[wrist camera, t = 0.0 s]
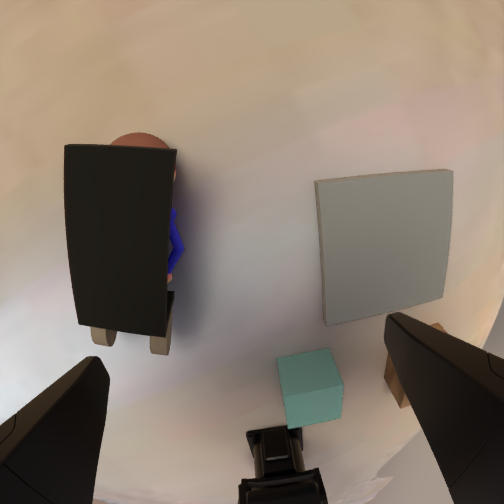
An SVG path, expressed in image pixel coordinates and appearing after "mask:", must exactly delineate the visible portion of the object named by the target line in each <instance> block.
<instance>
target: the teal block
mask: <svg viewBox="0 0 504 504" xmlns="http://www.w3.org/2000/svg"><path fill="white" fill-rule="evenodd" d="M277 364H278V371H279V378H280V386H281V393H282V398H283V404H284V409H285V415H286V420H287V426H288V429H291V428H296V427H302V426H307V425H312V424H317V423H322V422H326V421H331V420H335V419H339V418H341V411H342V400H343V387H344V384H343V381H342V379H341V376H340V374H339V371H338V369H337V366H336V364H335V361H334V359H333V356H332V354H331V351H330V349H329V348H326V349H322V350H317V351H312V352H306V353H301V354H296V355H290V356H285V357H279V358H277Z"/></svg>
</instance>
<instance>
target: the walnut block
mask: <svg viewBox="0 0 504 504" xmlns="http://www.w3.org/2000/svg"><path fill="white" fill-rule="evenodd" d="M430 326H432V327H434V328H436V329H438V330H441V331H443V332H445V333H447V332H446V331H445V330H444V329H443V327H442V326H441V325H440V324H439V323H436V324H433V325H430ZM447 334H448V333H447ZM384 379H385V380H386V382H387V384H388V386H389V388H390V390H391V392H392V394H393V396H394V397H395V399H396V401H397V403H398V405H399V407H400V408H403V407H406V406H409V405H411V404H410V402H409V400H408V398H407V396H406V394H405V392H404V390H403V388H402V386H401V384H400V382H399V379H398V377H397V374H396V371H395V368H394V366H393V363H392V360H391V358H390V355H389V352H388V357H387V363H386V369H385V375H384Z"/></svg>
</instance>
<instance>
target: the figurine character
mask: <svg viewBox="0 0 504 504" xmlns="http://www.w3.org/2000/svg"><path fill="white" fill-rule="evenodd" d="M176 154H177V149H169V147H168V146H167V145H166V144H165V143H164V142H163V141H162V140H161V139H159V138H157V137H155V136H153V135H151V134H147V133H130V134H127V135H124V136H122V137H120V138H118V139H116V140H115V141H113V142H112V143H111V144H110V145H97V144H68V145H65V146H64V208H65V226H66V239H67V250H68V259H69V268H70V275H71V283H72V289H73V296H74V302H75V307H76V313H77V318H78V323H79V325H85V326H90V327H91V336H92V340H93V342H94V343H95V344H98V345H103V346H109V347H111V346H113V344H114V342H115V339H116V334H117V331H120V332H126V333H133V334H140V335H148V336H150V350H151V353H152V354H160V355H168V354H169V350H170V343H171V332H172V306H173V301H174V292H175V291H167V283H169V282H170V281H171V280H172V274H171V272H172V270H173V268H174V267H175V265H176V263H177V261H178V259H179V258H180V256H181V254H182V252H183V251H184V246H183V243H182V241H181V238H180V236H179V233H178V231H177V228H176V225H175V223H174V219H175V218H176V215H177V213H176V211H175V209H173V208H171V206H172V194H173V183H174V180H175V176H176ZM169 238H170V240H171V243H172V245H173V247H174V249H173V251H172V252H171V254H170V256H169V258H168V254H169Z"/></svg>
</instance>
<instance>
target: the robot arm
mask: <svg viewBox="0 0 504 504" xmlns="http://www.w3.org/2000/svg"><path fill="white" fill-rule="evenodd" d="M384 341H385V345H386V347H387V350H388V352H389V355H390V358H391V360H392V363H393V366H394V368H395V371H396V374H397V377H398V379H399V382H400V384H401V386H402V388H403V390H404V392H405V394H406V396H407V398H408V400H409V402H410V404H411V406H412V408H413V410H414V412H415V415H416V417H417V419H418V421H419V423H420V425H421V427H422V429H423V432H424V434H425V436H426V438H427V440H428V442H429V445H430V447H431V449H432V451H433V454H434V456H435V458H436V461H437V463H438V465H439V467H440V470H441V472H442V475H443V477H444V479H445V482H446V484H447V487H448V488H449V492H450V495H451V497H452V500H453V502H454V504H504V359H502V358H500V357H498V356H495V355H493V354H491V353H487V352H486V351H484V350H482V349H480V348H478V347H476V346H474V345H471V344H469V343H467V342H465V341H463V340H460V339H458V338H456V337H454V336H452V335H449V334H447V333H445V332H443V331H441V330H438V329H436V328H434V327H432V326H430V325H427V324H425V323H423V322H421V321H419V320H416V319H414V318H412V317H410V316H407V315H405V314H403V313H401V312H396V313H392V314H389V315H387V317H386V322H385V331H384ZM109 386H110V377H109V374H108V372H107V370H106V368H105V366H104V365H103V363H102V361H101V359H100V358H99V357H97V356H89V357H86V358H85V359H83V360H82V361H81V362H79V363H78V364H77V365H76V366H74V367H73V368H72V369H71V370H69V371H68V372H67V373H65V374H64V375H63V376H62V377H60V378H59V379H58V380H57V381H55V382H54V383H53V384H52V385H50V386H49V387H48V388H47V389H45V390H44V391H43V392H41V393H40V394H39V395H38V396H36V397H35V398H34V399H33V400H31V401H30V402H29V403H28V404H26V405H25V406H24V407H23V408H22V409H20V410H19V411H18V412H17V413H16V414H14V415H13V416H12V417H10V418H9V419H8V420H7V421H5V422H4V423H3V424H1V425H0V504H92V501H93V493H94V486H95V479H96V472H97V466H98V459H99V454H100V448H101V442H102V437H103V432H104V427H105V421H106V414H107V404H108V394H109ZM246 437H247V440H248V443H249V446H250V449H251V452H252V455H253V458H254V464H255V476H256V478H253V479H241V484H240V485H238V488H239V499H238V504H328V501H327V496H326V492H325V488H324V485H323V482H322V478H321V475H320V471H319V468H314V469H312V470H307V471H305V466H304V461H303V456H302V452H301V451H303V441H302V427H296V428H291V429H288V426H284V427H278V428H271V429H264V430H257V431H249V432H247V433H246Z"/></svg>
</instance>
